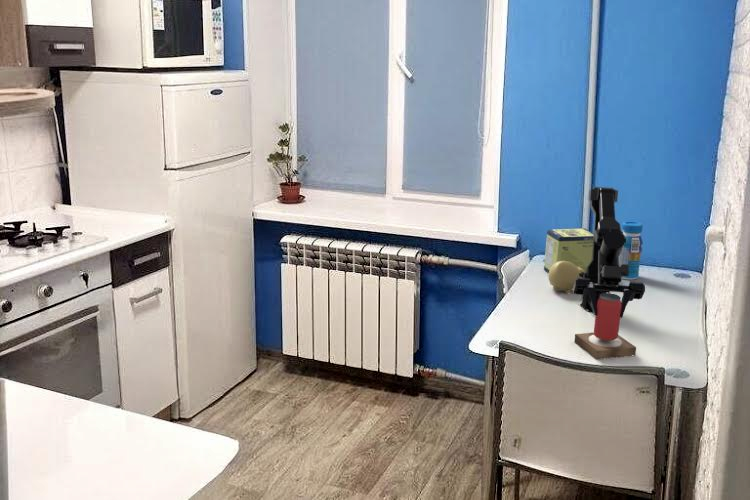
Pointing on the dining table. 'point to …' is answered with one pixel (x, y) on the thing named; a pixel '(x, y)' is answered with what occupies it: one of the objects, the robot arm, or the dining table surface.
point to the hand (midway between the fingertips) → (608, 316)
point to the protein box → (568, 247)
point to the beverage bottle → (631, 248)
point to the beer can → (607, 317)
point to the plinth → (604, 346)
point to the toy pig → (564, 275)
